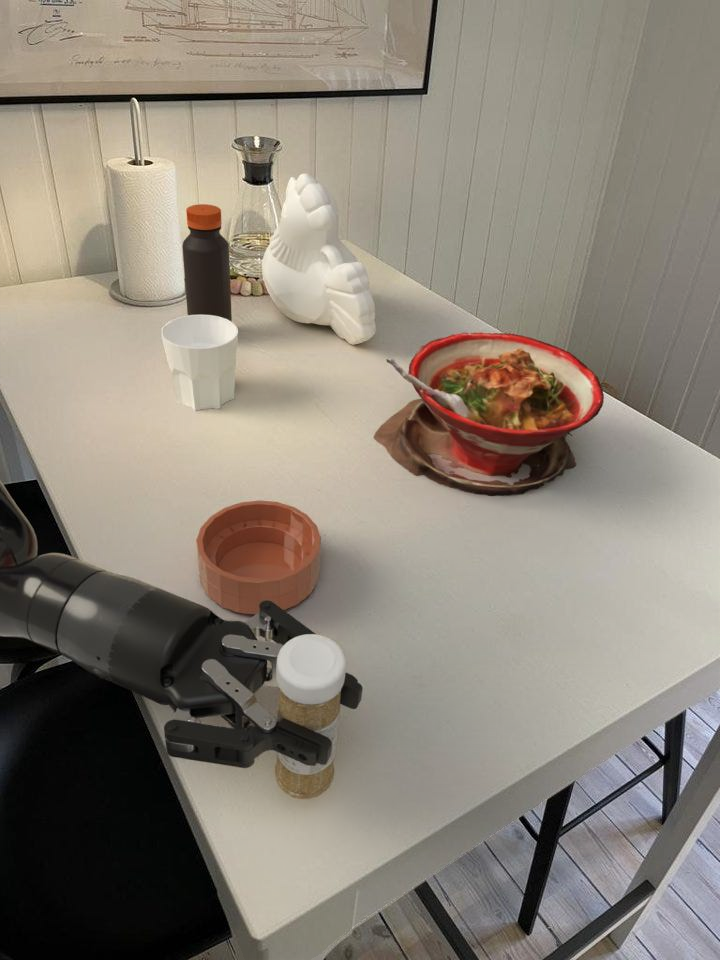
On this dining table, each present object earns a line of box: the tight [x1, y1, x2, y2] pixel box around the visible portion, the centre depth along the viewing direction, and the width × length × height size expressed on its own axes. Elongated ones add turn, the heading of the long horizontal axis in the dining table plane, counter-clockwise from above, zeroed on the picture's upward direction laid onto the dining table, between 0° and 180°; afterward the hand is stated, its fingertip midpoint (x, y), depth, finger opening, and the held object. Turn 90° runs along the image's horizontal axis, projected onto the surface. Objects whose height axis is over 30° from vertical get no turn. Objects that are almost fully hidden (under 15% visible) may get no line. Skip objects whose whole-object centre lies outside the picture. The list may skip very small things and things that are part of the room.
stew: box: [373, 332, 605, 497], centre depth 94 cm, size 28×24×16 cm
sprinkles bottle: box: [274, 633, 347, 800], centre depth 53 cm, size 5×5×14 cm
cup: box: [160, 315, 239, 412], centre depth 103 cm, size 10×10×10 cm
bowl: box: [196, 499, 322, 615], centre depth 77 cm, size 12×12×5 cm
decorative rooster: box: [261, 172, 377, 346], centre depth 118 cm, size 25×16×25 cm
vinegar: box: [182, 203, 233, 322], centre depth 114 cm, size 7×7×20 cm
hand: (344, 723), depth 51 cm, fingers closed on sprinkles bottle, 4 cm apart
